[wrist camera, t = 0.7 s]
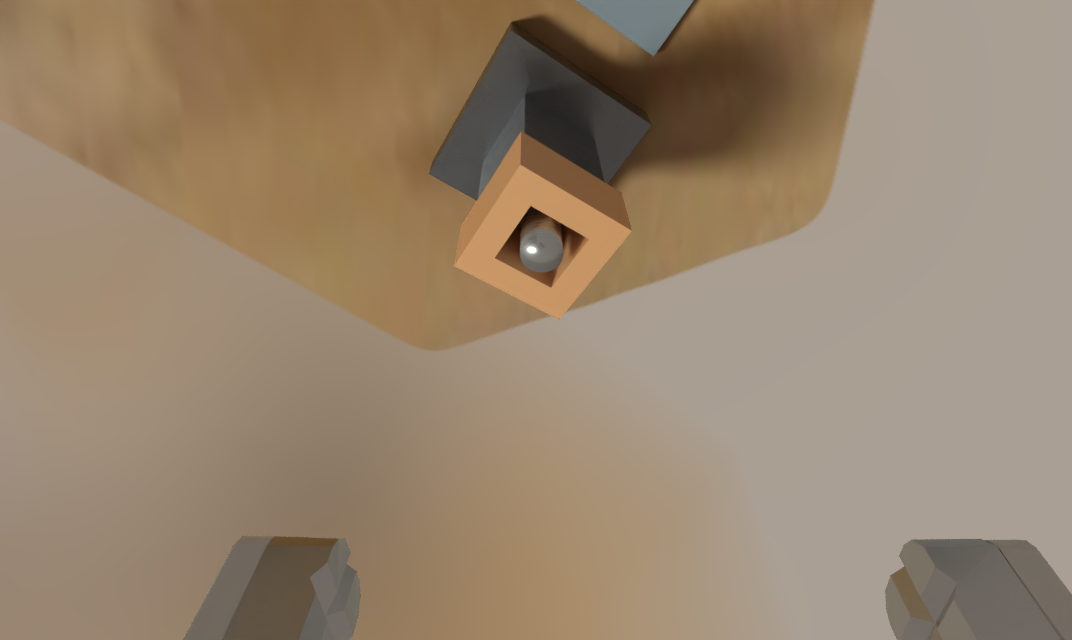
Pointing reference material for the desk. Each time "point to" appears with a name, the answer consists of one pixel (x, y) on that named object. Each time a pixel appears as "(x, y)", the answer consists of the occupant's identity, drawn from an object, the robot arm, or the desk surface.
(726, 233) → the desk surface
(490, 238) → the collar
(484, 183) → the stand
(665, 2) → the mat
